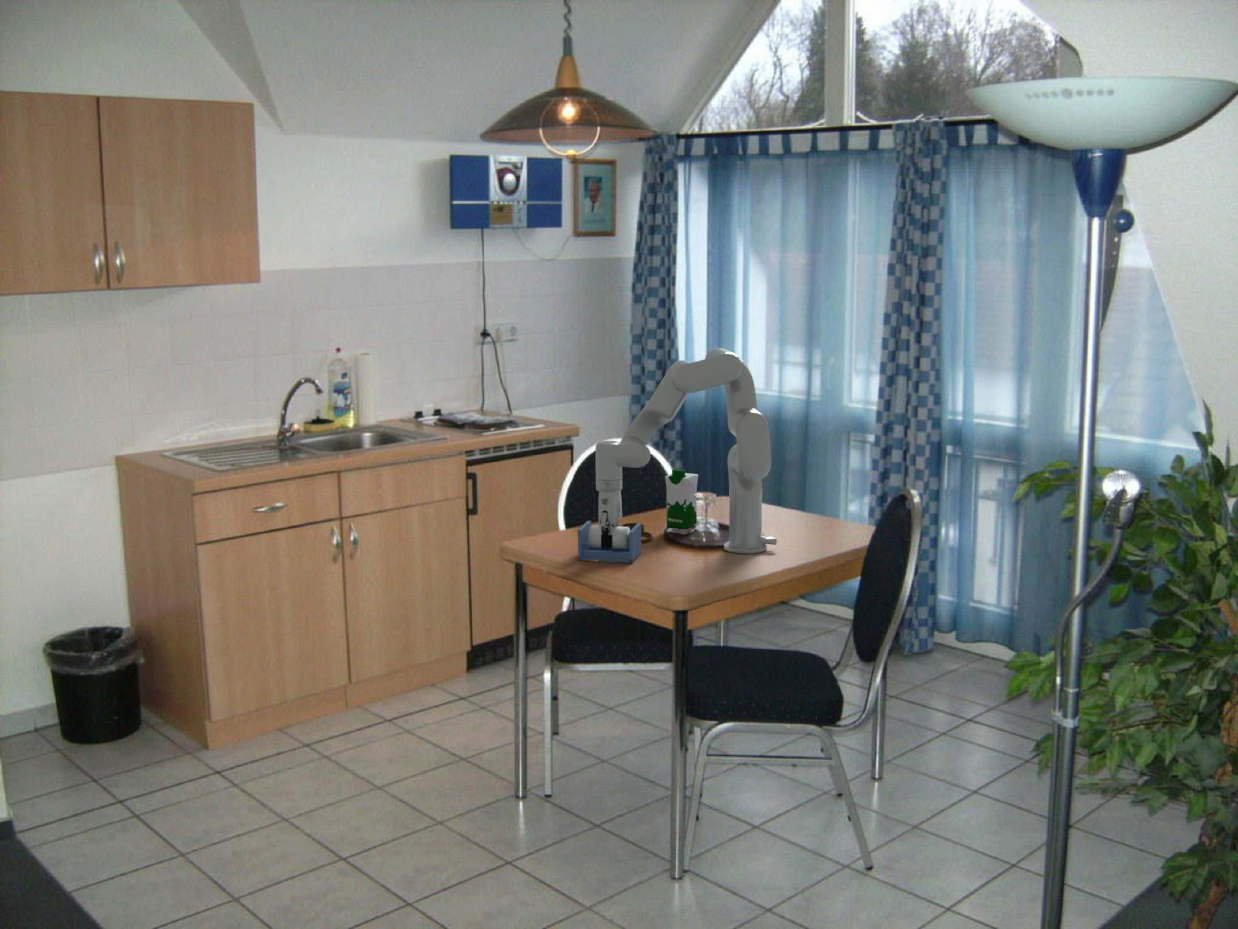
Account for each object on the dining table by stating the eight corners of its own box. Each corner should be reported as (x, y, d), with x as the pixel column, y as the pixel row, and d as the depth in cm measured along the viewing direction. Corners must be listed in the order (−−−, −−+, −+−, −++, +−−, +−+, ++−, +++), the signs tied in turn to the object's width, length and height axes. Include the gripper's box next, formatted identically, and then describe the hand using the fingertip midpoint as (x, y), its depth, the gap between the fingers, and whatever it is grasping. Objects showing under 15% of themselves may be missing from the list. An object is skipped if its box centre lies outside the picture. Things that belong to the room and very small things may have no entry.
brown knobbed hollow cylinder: (668, 541, 385) (668, 522, 384) (625, 555, 370) (625, 535, 369) (624, 532, 396) (623, 514, 395) (581, 546, 381) (580, 526, 380)
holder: (641, 553, 370) (641, 523, 368) (632, 563, 359) (632, 532, 358) (588, 550, 374) (587, 520, 372) (578, 560, 363) (577, 529, 361)
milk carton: (662, 533, 393) (662, 469, 389) (677, 526, 401) (676, 464, 397) (687, 536, 389) (687, 472, 385) (701, 530, 396) (701, 467, 392)
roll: (632, 545, 368) (632, 524, 366) (627, 552, 362) (627, 530, 360) (592, 543, 370) (592, 522, 369) (586, 549, 364) (586, 528, 363)
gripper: (614, 491, 353) (615, 553, 357) (628, 478, 370) (629, 538, 373) (588, 490, 355) (589, 552, 358) (603, 477, 372) (604, 537, 375)
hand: (609, 544), depth 366 cm, fingers closed on roll, 6 cm apart
